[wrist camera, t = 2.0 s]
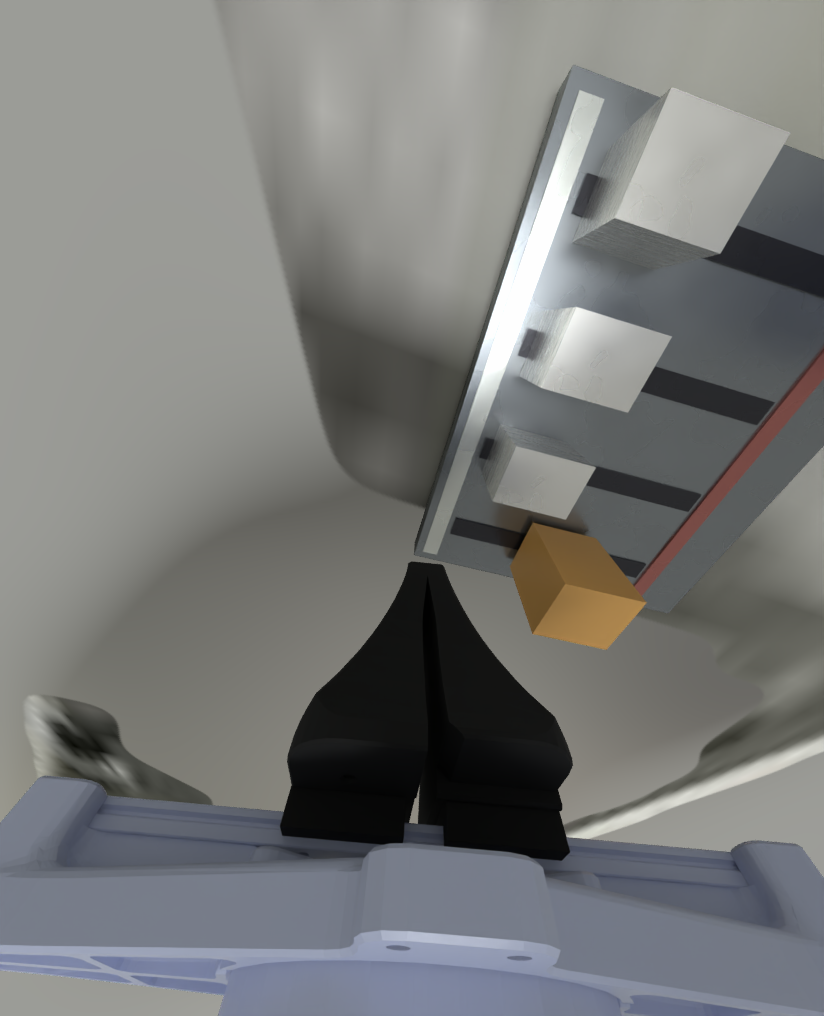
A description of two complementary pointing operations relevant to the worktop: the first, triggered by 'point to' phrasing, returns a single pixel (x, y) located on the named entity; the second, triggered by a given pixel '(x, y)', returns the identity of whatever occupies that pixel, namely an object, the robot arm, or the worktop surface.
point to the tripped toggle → (573, 588)
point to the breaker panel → (696, 345)
